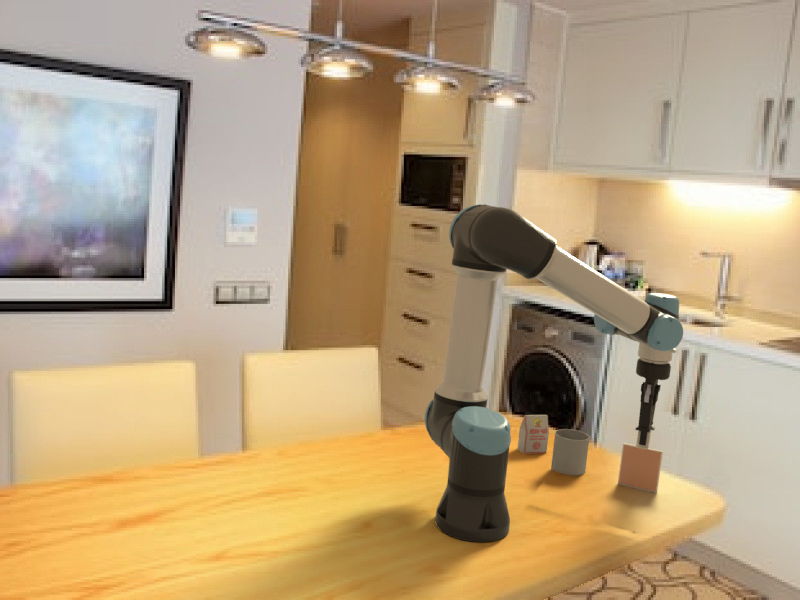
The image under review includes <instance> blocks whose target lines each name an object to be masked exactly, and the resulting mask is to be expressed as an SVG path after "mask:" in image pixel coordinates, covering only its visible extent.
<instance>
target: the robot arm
mask: <svg viewBox="0 0 800 600" xmlns="http://www.w3.org/2000/svg"><path fill="white" fill-rule="evenodd" d="M448 235H449V242H450V244H451V247H452V249H453V251H452V260H451V267H452V268H453V269H454V272H456V275H457V277H456V284H455V292H454V299H453V307H452V313H451V320H450V329H449V335H448V342H447V349H446V355H445V356H446V357H445V364H444V372H443V379H442V380H443V381H442V382H441V383H440V384H439V385H437V386H436V387H435V388H434V394H433V395H434V396H433V399H432V400H431V401H430V402H429V403H428V405H427V407H426V409H425V413H424V425H425V429H426V431H427V433H428V436H429V437H430V439H431V440H432V441H433V442H434V444H435V445H436V446H438V448H440V449H441V450H442V452H443V453H444V454H445V455H446V456H447V458H449V463H448V471H447V483H446V487H445V489H444V492H443V494H442V496H441V498H440V501H439V503H438V505H437V507H436V511H435V517H434V518H435V520H434V521H435V522H436V523H435V525H436V524H437V525H436V527H437V526H438V527H439V528H440V529H441V530H442V531H441V530H440V529H439V528H438V527H437V528H438V529H439V530H440V531H441V532H443V533H444V532H445V533H444V534H446V535H448V536H450V537H452V536H453V537H452V538H455V537H456V538H455V539H458V540H462V541H468V542H472V543H473V542H475V543H487V542H488V543H489V542H495V541H499V540H501V539H503V538H505V537H506V536H507V535H508V534H509V532H510V524H511V519H510V518H511V517H510V513H509V509H508V503H507V499H506V495H505V490H506V489H505V488H506V479H507V473H508V472H507V471H508V464H509V463H508V462H509V455H510V445H511V443H512V440H511V439H512V436H511V423H510V422H509V420H508V418H507V417H506V416H505V415H504V414H502V413H500V412H499V411H496V410H492V409H491V408H488V407H487V406H488V398H489V397H488V396H489V395H488V394H487V392H485V389H483V384H484V376H485V369H486V363H487V356H488V350H489V341H490V334H491V329H492V328H491V327H492V322H493V321H492V320H493V314H494V306H495V302H496V301H495V299H496V293H497V285H498V280H499V279H500V278H501V277H502V276H504V275H505V274H507V270H509V271H511V272H513V273H516V274H518V275H520V276H522V277H523V278H524V279H527V280H534V279H535V280H536V279H537V281H540V282H541V283H543V284H544V285H546V286H548V287H550V288H551V289H553V290H555V291H556V292H558V293H560V294H561V295H562V296H565V297H567V298H568V299H569V300H571V301H573V302H574V303H576V304H578V305H579V306H580V307H582V308H584V309H586V310H587V311H589V312H591V313H593V314H594V316H593V322H594V326H595V329H596V330H597V332H598V333H600V334H603V335H610V336H613V335H614V336H615V335H618V336H620V337H623V338H626V339H628V340H631V341H634V342H637V343H638V344H639V345H638V350H637V356H638V357H639V358H638V359H637V361H636V368H635V374H636V375H637V376H639V377H641V378H644V379H645V380H644V381H643V382H642V383H641V386H640V393H641V394H640V407H639V417H638V425H637V426H635V428H634V429H635V431H637V438H636V446H640V447H645V448H650V442H651V436H652V435H651V434H652V431H655V428H656V427H655V426H653V424H654V416H655V411H656V404H657V401H658V400H659V393H660V391H661V386H662V385H661V384H660V383H659V381H665V380H666V381H667V380H668V379H669V378H670V376H671V371H672V363H670V362H672V361H673V354H676V353H677V349H676V348H677V347H679V345H680V343H681V342H682V340H683V337H684V328H683V325H682V322H681V321H680V320H679V318H680V315H679V314H680V313H679V311H680V299H679V298H678V297H677V296H676V295H673V294H668V293H660V292H651V293H650V292H649V293H647V294H646V295H645V299H644V300H643V299H642V298H639V297H638V296H637V295H635V294H633V293H632V292H631V291H628V290H627V289H625V288H624V287H622V286H620V285H619V284H617V283H616V282H615V281H613V280H611V279H609V278H608V277H607V276H605V275H603V274H602V273H600V272H598V271H597V270H596V269H594V268H592V266H591V267H590V266H589V265H588V264H586V263H584V262H583V261H581V260H580V259H578V258H577V257H575V256H573V255H571V254H570V253H569V252H567V251H566V250H564V249H562V248H561V247H560V246H558V244H557V240H556V239H555V238H554V237H553V236H552V235H550V234H549V233H547V232H545V231H544V230H543V229H541V228H540V227H539V226H537V225H536V224H534V223H533V222H531V221H529V219H527V218H526V217H524V216H523V215H521V214H520V213H519V212H516V211H515V210H512V209H510V208H507V207H501V206H493V205H488V204H476V205H475V204H473V205H470V206H469V205H468V206H467V207H464V208H463V209H462V210H459V212H457V214H456V215H455V216H454V218H452V221H451V223H450V226H449V232H448Z"/></svg>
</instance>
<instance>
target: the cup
mask: <svg viewBox="0 0 800 600" xmlns="http://www.w3.org/2000/svg"><path fill="white" fill-rule="evenodd" d="M553 440H554V441H553V449H552V455H551V458H552V459H551V465H550V466H551V467H550V473H552V472H553V471H555V472H557V473H559V474H562V475H567V476H582V475H583V474H585V473H586V472H587V471H586V469H587V461H588V460H587V459H588V453H589V446H590V445H589V444H590V435H589V434H587V433H586V432H583V431H581V430H577V429H576V430H575V429H568V428H563V429H562V428H561V429H557V430H555V432H554V439H553Z"/></svg>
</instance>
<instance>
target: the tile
mask: <svg viewBox="0 0 800 600" xmlns="http://www.w3.org/2000/svg"><path fill="white" fill-rule="evenodd" d="M636 445H637V444H636ZM636 445H635V444H630V443H625V442H623V443H622V450H621V457H620V464H619V473H618V480H617V485H620V486H624V487H628V488H632V489H633V488H634V489H637V490H641V491H646V492H650V493H653V494H654V493H655V494H657V493H658V489H659V482H660V475H661V470H662V469H661V468H662V460H663V456H664V451H663V450H659V449H655V448H654V449H653V448H650V447H649V448H645V447H640V446H636Z"/></svg>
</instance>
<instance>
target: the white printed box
mask: <svg viewBox="0 0 800 600" xmlns="http://www.w3.org/2000/svg"><path fill="white" fill-rule="evenodd" d="M549 432H550V429H549V416H548V414H525V415H523V418H522V422H521V423H520V426H519V431H518V441H517V450H518V451H519V452H521V454H523V455H529V454H530V455H531V454H547V452H548V445H549V444H548V442H549V434H550V433H549Z"/></svg>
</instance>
